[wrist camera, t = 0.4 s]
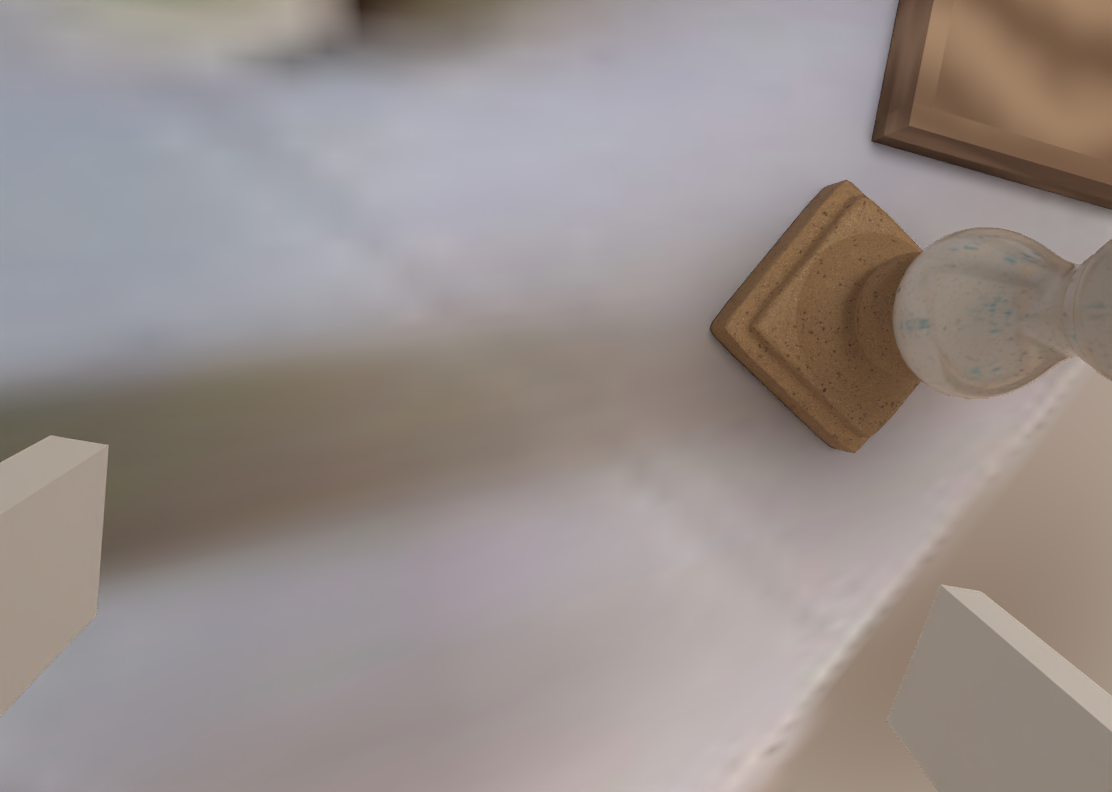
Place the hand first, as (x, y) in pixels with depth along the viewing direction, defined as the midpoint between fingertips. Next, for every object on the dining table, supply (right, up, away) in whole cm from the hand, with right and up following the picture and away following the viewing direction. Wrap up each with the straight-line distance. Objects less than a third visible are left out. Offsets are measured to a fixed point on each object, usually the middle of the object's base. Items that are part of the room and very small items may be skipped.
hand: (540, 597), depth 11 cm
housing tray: (+28, +25, +31) cm, 48 cm away
